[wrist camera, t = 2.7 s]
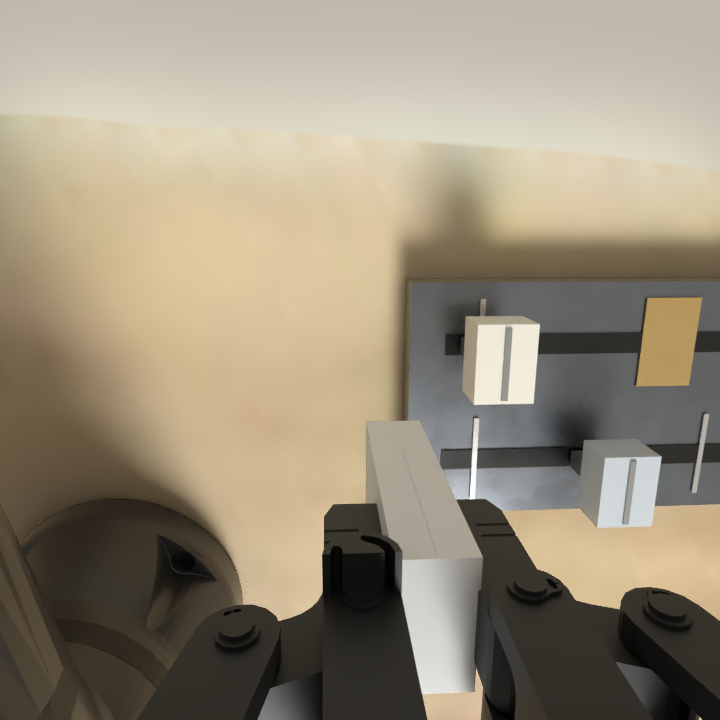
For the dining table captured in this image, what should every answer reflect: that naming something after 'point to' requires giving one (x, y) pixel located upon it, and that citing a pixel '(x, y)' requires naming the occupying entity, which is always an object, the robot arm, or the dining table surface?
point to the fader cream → (499, 359)
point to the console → (571, 384)
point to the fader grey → (617, 482)
